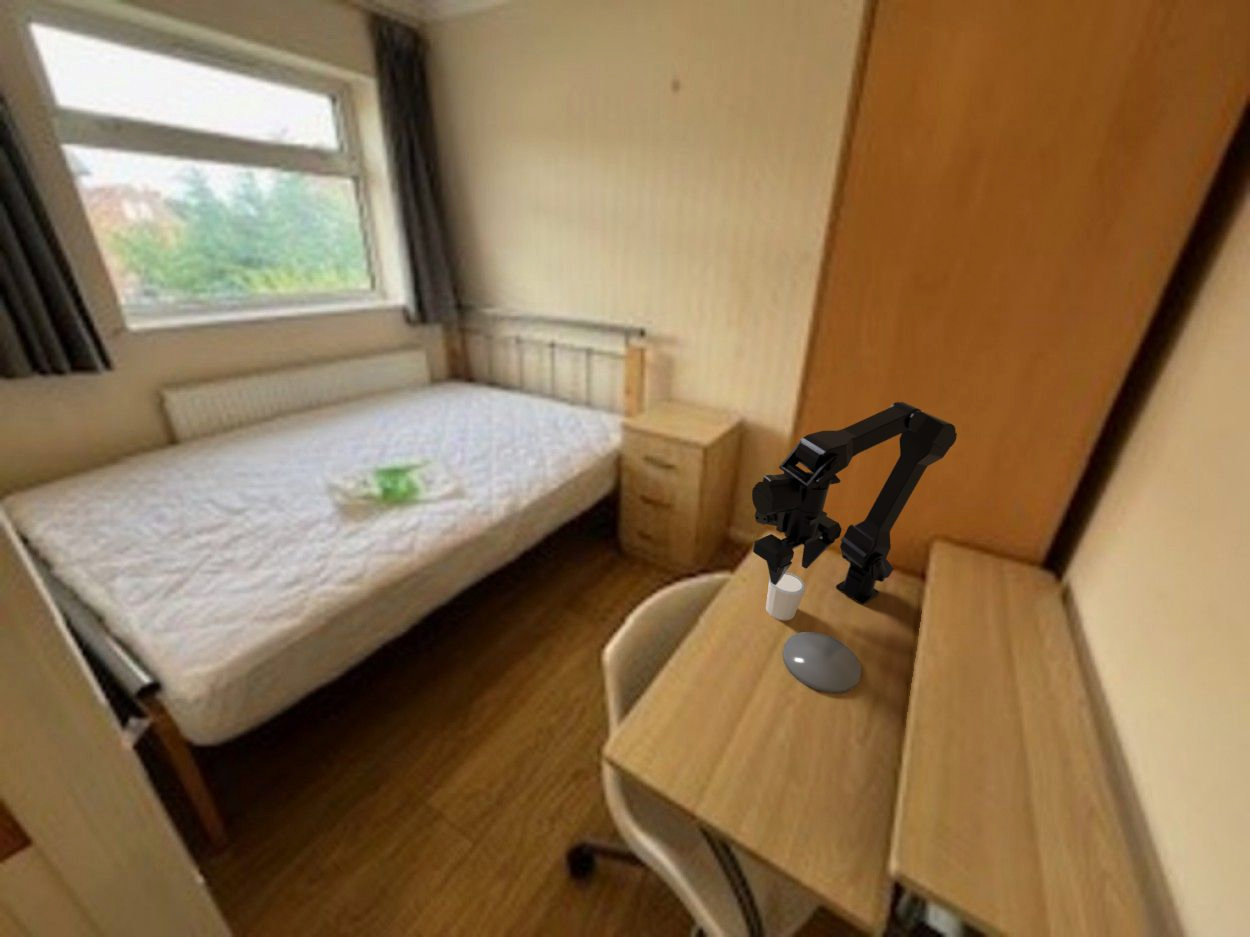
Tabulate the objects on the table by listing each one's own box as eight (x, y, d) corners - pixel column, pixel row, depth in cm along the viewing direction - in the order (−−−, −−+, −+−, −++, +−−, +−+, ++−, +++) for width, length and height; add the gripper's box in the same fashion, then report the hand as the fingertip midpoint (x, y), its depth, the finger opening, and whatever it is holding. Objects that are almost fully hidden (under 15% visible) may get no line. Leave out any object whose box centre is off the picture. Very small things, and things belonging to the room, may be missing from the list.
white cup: (794, 601, 111) (801, 573, 108) (800, 624, 105) (808, 596, 102) (760, 597, 112) (766, 569, 108) (764, 620, 105) (771, 591, 102)
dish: (812, 627, 105) (813, 622, 104) (874, 671, 96) (876, 666, 95) (767, 655, 97) (768, 650, 97) (830, 706, 88) (832, 701, 88)
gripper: (802, 474, 108) (786, 540, 115) (737, 498, 98) (724, 569, 105) (852, 498, 100) (832, 567, 108) (787, 528, 90) (770, 602, 97)
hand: (789, 575), depth 104 cm, fingers open, 9 cm apart
